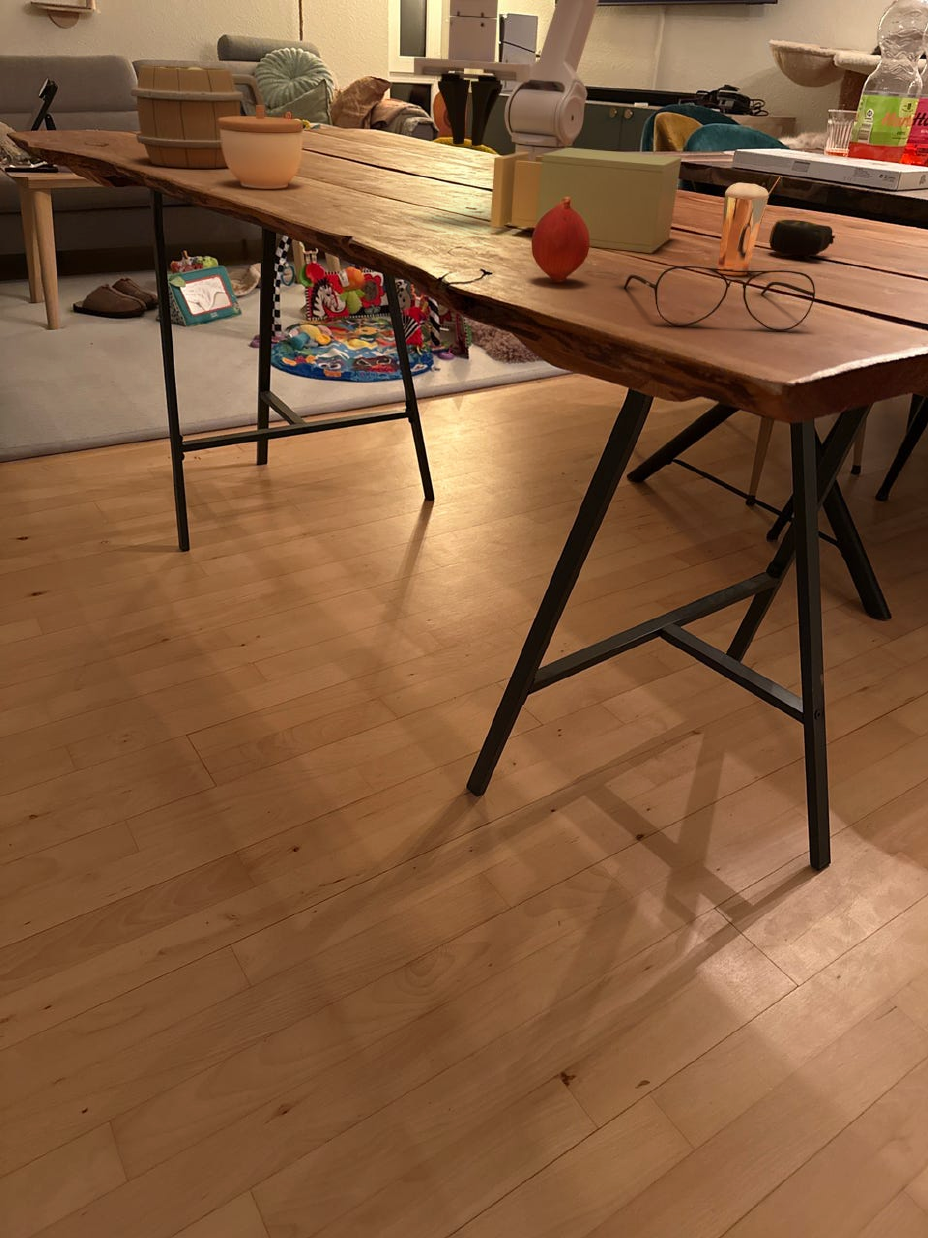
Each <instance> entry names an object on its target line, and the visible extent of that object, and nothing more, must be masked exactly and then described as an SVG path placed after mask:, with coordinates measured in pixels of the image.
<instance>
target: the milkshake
mask: <svg viewBox="0 0 928 1238" xmlns="http://www.w3.org/2000/svg"><path fill="white" fill-rule="evenodd" d="M780 179H781V176H779V177H778V178H777V180H776V181H775V183H774V184H773V186H772V187H771V189H770V191H768V190H767V189H766V188H765V187H763V186H761V185H758V184H756V183H748V182H747V183H746V182H736V183H733V184H731V185H729V186H728V187H727V189H726V190H725V191H724V202H723V214H722V228H721V229H722V230H721V231H722V232H721V239H720V248H719V255H718V257H719V258H718V264H717V269H725V270H737V271H749V267H750V265H751V261H752V255H753V253H754V249H755V245H756V241H757V239H758V238H757V237H758V234H759V230H760V227H761V224H762V221H763V218H764V215H765V211H766V208H767V204H768V201H769V197H770V195H771V193H772V191H773V190H774V188H775V187H776V185H777V183H778V182H779V180H780ZM717 272H719V273H721V274H722V275H725V276H734V277H735V276H738V277H739V276H740V277H741V276H742V277H743V276H746V275H748V272H730V271H719V270H717Z"/></svg>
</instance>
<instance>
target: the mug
mask: <svg viewBox="0 0 928 1238" xmlns="http://www.w3.org/2000/svg"><path fill="white" fill-rule="evenodd" d="M138 70H139V71H138V76H137V77H138V78H137V84H136V86H133V87H131V88H130V96H131V97H136V107H137V115H138V122H139V123H138V124H139V130H140V132H139V133H136V134H135V137H136V140H137V141H136V142H137V143H138V144H141V145H144V147H145V150H146V153H147V156H148V158H149V160H150V163H151V164H152V165H156V166H159V167H167V168H177V169H207V170H208V169H227V168H228V166H227V164H226V161H225V159H224V155H223V152H222V147H221V140H220V128H219V127H218V119H219V118H222V117H234V116H241V108H240V101H243V100H244V99H245V98H244V94H243V92H242V91H240V90H237V88H236V86H246V88H247V90H248V92H249V95H250V98H251V101H252V104H253V108H254V111H255V112H256V105H262V106H264V117H268V113H267V108H266V105H265V102H264V99H263V95H262V92H261V89H260V86H259V83H258V80H257V79H256V78H255V76H254V75H250V74H243V73H231V70H230V69H227V68H216V67H203V66H202V67H201V66H182V65H152V64H151V65H148V64H147V65H140V66H139V69H138Z"/></svg>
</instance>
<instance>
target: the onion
mask: <svg viewBox="0 0 928 1238" xmlns="http://www.w3.org/2000/svg"><path fill="white" fill-rule="evenodd" d="M590 248H591V246H590V237H589V232H588V229H587V227H586V224H585V223H584V221H583V219H582V218H581V217H580V215H579V214H578V213H577V212H575V211H574V210H573V209H572V207H571V199H570V197H566V198H563V200H562V201H561V202H560V203H559V204H558V205H557V206H556V207H555V208H553V209H551V210H550V211H549V212H547V213H546V214H545V215H544V216H543V217H542V218H541V219H540V221H539V222H538V224H537V225H536V227H535V228H534V230H533V232H532V238H531V253H532V257H533V259H534V261H535V263H536V264H537V266H538V267H539V268H540V270H541V271H543V272H544V273H545V274H546V275H547V276H548V277H549V278H550V279H551V280H552V281H553V282H555V283H563V282H564V281H565V280H566V279H567V278H568V277H569V276H570V275H571V274H573V273H574V272H575V271H577V270H578V269H579V268H580V267H581V265H583V264H584V262H585V260H586V259H587V258H588V254H589V251H590Z"/></svg>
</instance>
